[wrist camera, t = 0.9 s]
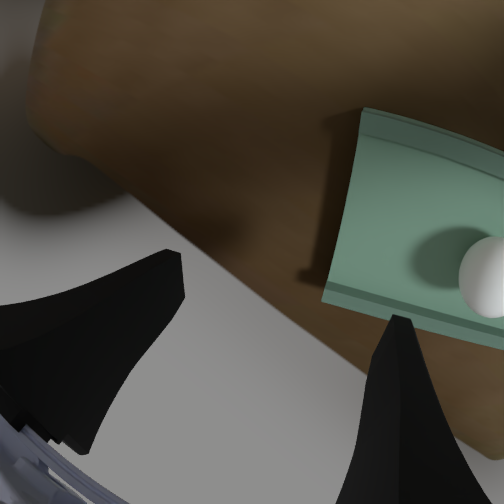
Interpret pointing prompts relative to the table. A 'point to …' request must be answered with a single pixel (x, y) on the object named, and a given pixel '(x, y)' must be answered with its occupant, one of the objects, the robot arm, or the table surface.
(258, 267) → the table surface
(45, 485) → the robot arm
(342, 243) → the green tray
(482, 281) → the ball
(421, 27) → the table surface
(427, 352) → the table surface
